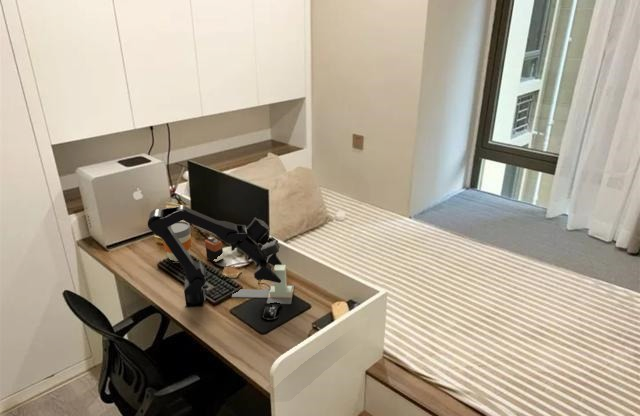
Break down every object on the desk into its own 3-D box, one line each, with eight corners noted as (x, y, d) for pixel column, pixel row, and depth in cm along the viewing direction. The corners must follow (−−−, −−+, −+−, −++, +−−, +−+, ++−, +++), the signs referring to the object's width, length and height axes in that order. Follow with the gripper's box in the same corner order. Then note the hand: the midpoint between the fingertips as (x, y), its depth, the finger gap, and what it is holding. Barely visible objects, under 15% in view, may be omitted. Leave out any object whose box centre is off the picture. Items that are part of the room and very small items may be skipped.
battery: (214, 254, 200) (212, 234, 196) (224, 259, 196) (222, 239, 192) (206, 258, 197) (204, 238, 193) (216, 263, 193) (213, 243, 189)
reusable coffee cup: (158, 259, 197) (153, 228, 191) (181, 248, 206) (177, 218, 200) (177, 267, 190) (172, 236, 184) (200, 255, 200) (196, 225, 194)
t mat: (229, 302, 166) (229, 301, 166) (236, 285, 177) (236, 284, 177) (291, 304, 165) (290, 303, 165) (294, 286, 176) (294, 285, 176)
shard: (226, 265, 193) (226, 261, 192) (244, 265, 193) (243, 261, 192) (221, 279, 183) (221, 275, 182) (240, 278, 183) (239, 275, 182)
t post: (269, 296, 169) (268, 270, 165) (271, 290, 173) (269, 264, 168) (290, 296, 169) (289, 270, 164) (292, 290, 173) (290, 264, 168)
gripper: (261, 247, 153) (294, 275, 157) (269, 224, 170) (299, 250, 174) (240, 267, 156) (273, 294, 160) (250, 242, 173) (279, 267, 177)
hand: (282, 275), depth 168 cm, fingers open, 9 cm apart
